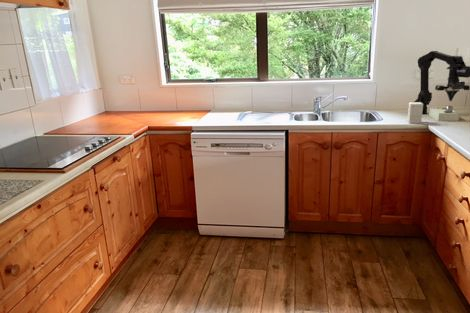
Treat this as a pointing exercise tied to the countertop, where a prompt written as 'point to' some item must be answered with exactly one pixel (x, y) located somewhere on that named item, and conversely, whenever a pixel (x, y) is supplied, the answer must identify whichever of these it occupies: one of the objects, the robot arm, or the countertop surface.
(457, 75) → the robot arm
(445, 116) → the socket block
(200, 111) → the countertop surface
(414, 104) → the supplement box
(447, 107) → the steel peg
